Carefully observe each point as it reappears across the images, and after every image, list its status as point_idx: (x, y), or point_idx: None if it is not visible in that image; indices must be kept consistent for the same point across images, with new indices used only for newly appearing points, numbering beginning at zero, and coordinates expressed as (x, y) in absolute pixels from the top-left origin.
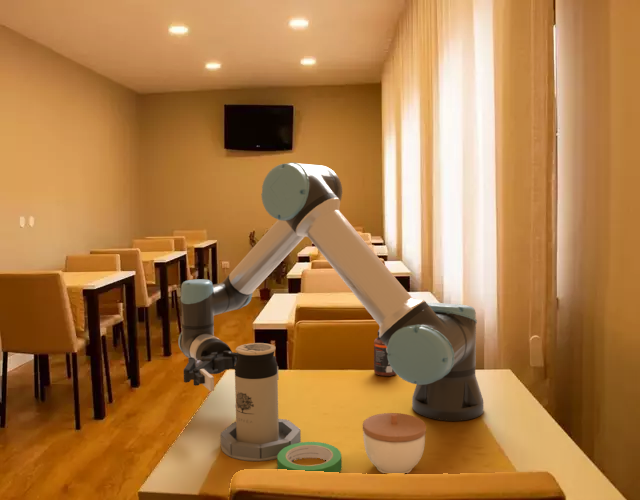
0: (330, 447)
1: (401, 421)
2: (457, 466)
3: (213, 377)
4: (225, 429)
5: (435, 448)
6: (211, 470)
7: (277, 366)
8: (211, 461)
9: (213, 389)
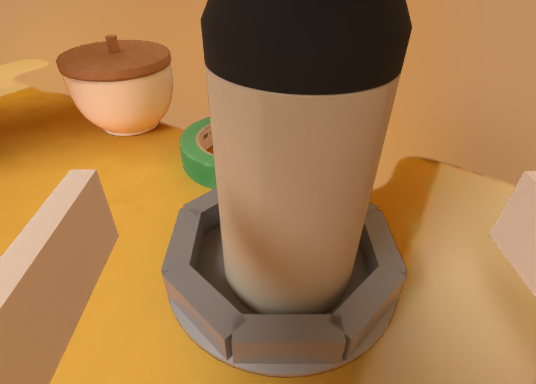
0: (188, 140)
1: (99, 51)
2: (66, 104)
3: (525, 173)
4: (388, 294)
5: (21, 133)
6: (420, 206)
7: (68, 174)
8: (422, 236)
9: (495, 230)
